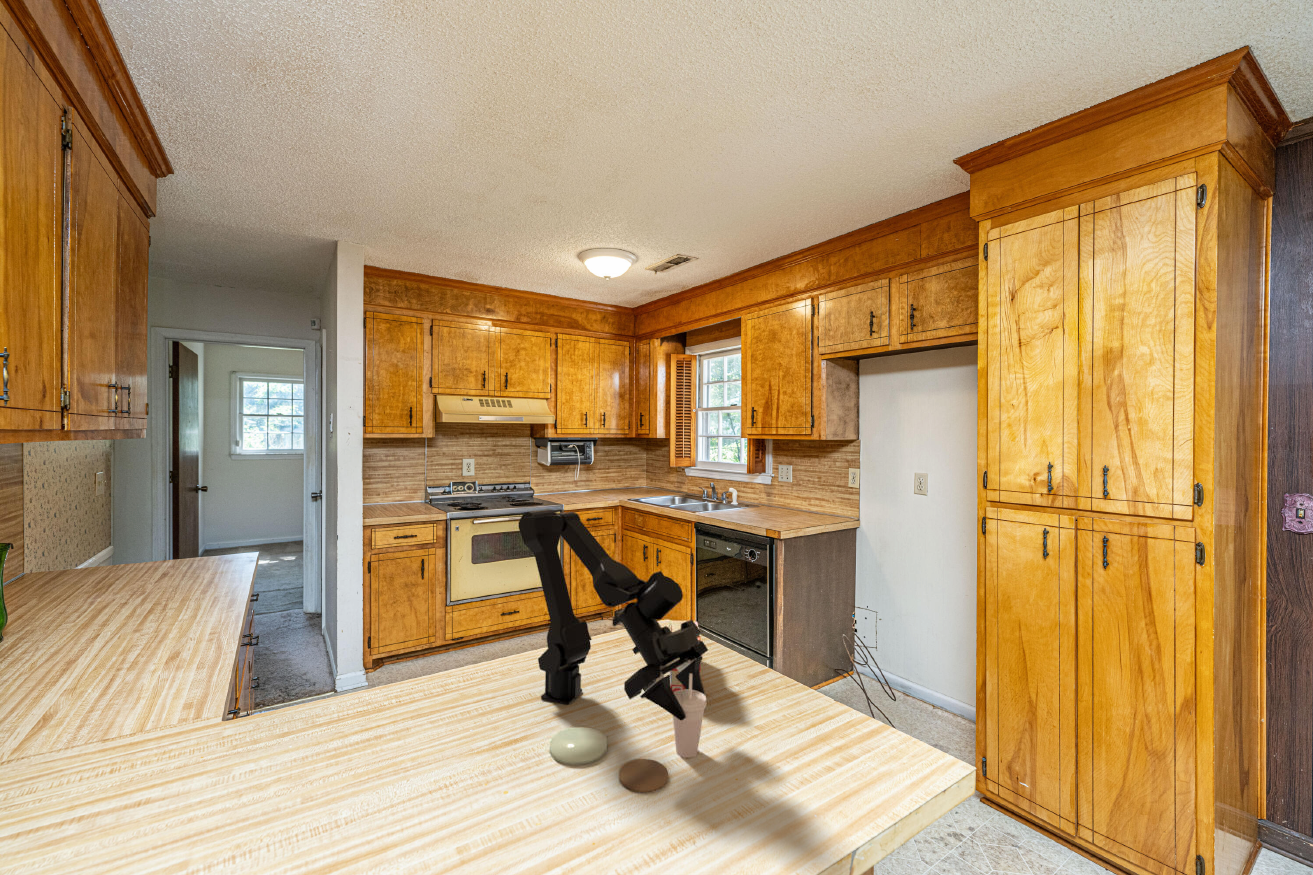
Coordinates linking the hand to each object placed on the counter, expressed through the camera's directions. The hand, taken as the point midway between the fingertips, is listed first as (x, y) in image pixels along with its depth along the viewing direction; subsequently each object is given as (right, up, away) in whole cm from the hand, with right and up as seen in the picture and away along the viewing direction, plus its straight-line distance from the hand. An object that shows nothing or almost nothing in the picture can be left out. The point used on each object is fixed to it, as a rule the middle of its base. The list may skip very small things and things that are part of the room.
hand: (694, 711), depth 100 cm
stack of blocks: (-1, -7, +31) cm, 32 cm away
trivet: (-9, -8, -6) cm, 13 cm away
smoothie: (-1, -8, +1) cm, 8 cm away
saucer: (-20, -7, +1) cm, 22 cm away
